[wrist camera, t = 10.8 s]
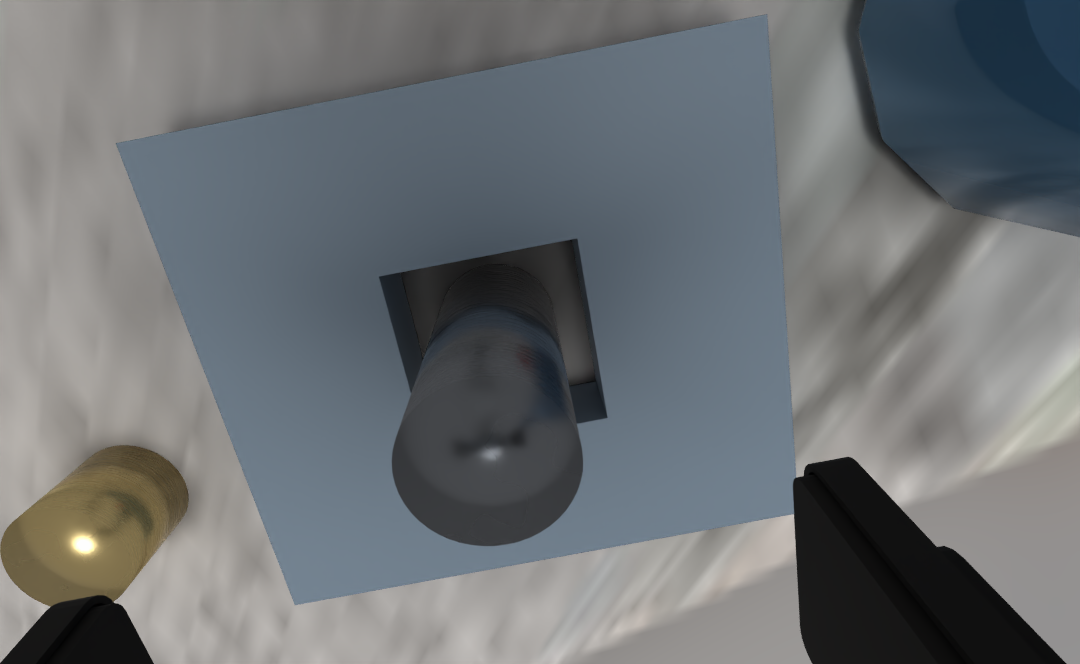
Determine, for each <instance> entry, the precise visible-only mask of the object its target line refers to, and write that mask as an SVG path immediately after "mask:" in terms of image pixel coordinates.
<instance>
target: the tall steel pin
mask: <svg viewBox="0 0 1080 664" xmlns="http://www.w3.org/2000/svg"><path fill="white" fill-rule="evenodd" d="M392 473H393V478H394V482H395V485H396V488H397V491H398V493H399V495H400V497H401V499H402V501H403V502H404V504H405V505H406V507H407V508H408V509H409V511H410V512H411V513H412V514H413V515H414V516H415V517H416V518H417V519H418V520H419V521H420V522H421V523H422V524H423V525H425V526H426V527H427V528H429V529H430V530H432V531H434V532H435V533H437V534H439V535H441V536H443V537H445V538H447V539H450V540H453V541H456V542H459V543H464V544H469V545H476V546H499V545H507V544H511V543H516V542H519V541H522V540H525V539H528V538H530V537H532V536H534V535H536V534H538V533H540V532H542V531H543V530H545V529H546V528H548V527H549V526H551V525H552V524H553V523H554V522H555V521H556V520H558V519H559V518H560V517H561V515H562V514H563V513H564V512H565V511H566V510H567V508H568V507H569V505H570V504H571V503H572V501H573V499H574V497H575V495H576V493H577V491H578V488H579V485H580V482H581V478H582V473H583V453H582V446H581V441H580V436H579V432H578V427H577V422H576V417H575V413H574V408H573V403H572V398H571V393H570V389H569V384H568V379H567V374H566V369H565V365H564V360H563V355H562V350H561V345H560V341H559V336H558V331H557V326H556V321H555V317H554V312H553V307H552V303H551V301H550V298H549V296H548V294H547V292H546V290H545V289H544V287H543V286H542V285H541V284H540V283H539V282H538V281H537V280H536V279H535V278H534V277H533V276H531V275H530V274H529V273H527V272H525V271H523V270H521V269H519V268H516V267H513V266H509V265H503V264H491V265H484V266H481V267H477V268H475V269H472V270H470V271H468V272H467V273H465V274H464V275H462V276H461V277H460V278H458V279H457V280H456V281H455V282H454V283H453V285H452V286H451V287H450V289H449V290H448V292H447V294H446V296H445V298H444V301H443V304H442V306H441V309H440V312H439V315H438V318H437V321H436V324H435V327H434V329H433V332H432V335H431V338H430V341H429V344H428V347H427V350H426V352H425V355H424V358H423V361H422V364H421V367H420V370H419V373H418V375H417V378H416V381H415V384H414V387H413V390H412V393H411V396H410V398H409V401H408V404H407V407H406V410H405V413H404V416H403V419H402V421H401V424H400V427H399V430H398V433H397V436H396V439H395V442H394V447H393V451H392Z"/></svg>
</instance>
